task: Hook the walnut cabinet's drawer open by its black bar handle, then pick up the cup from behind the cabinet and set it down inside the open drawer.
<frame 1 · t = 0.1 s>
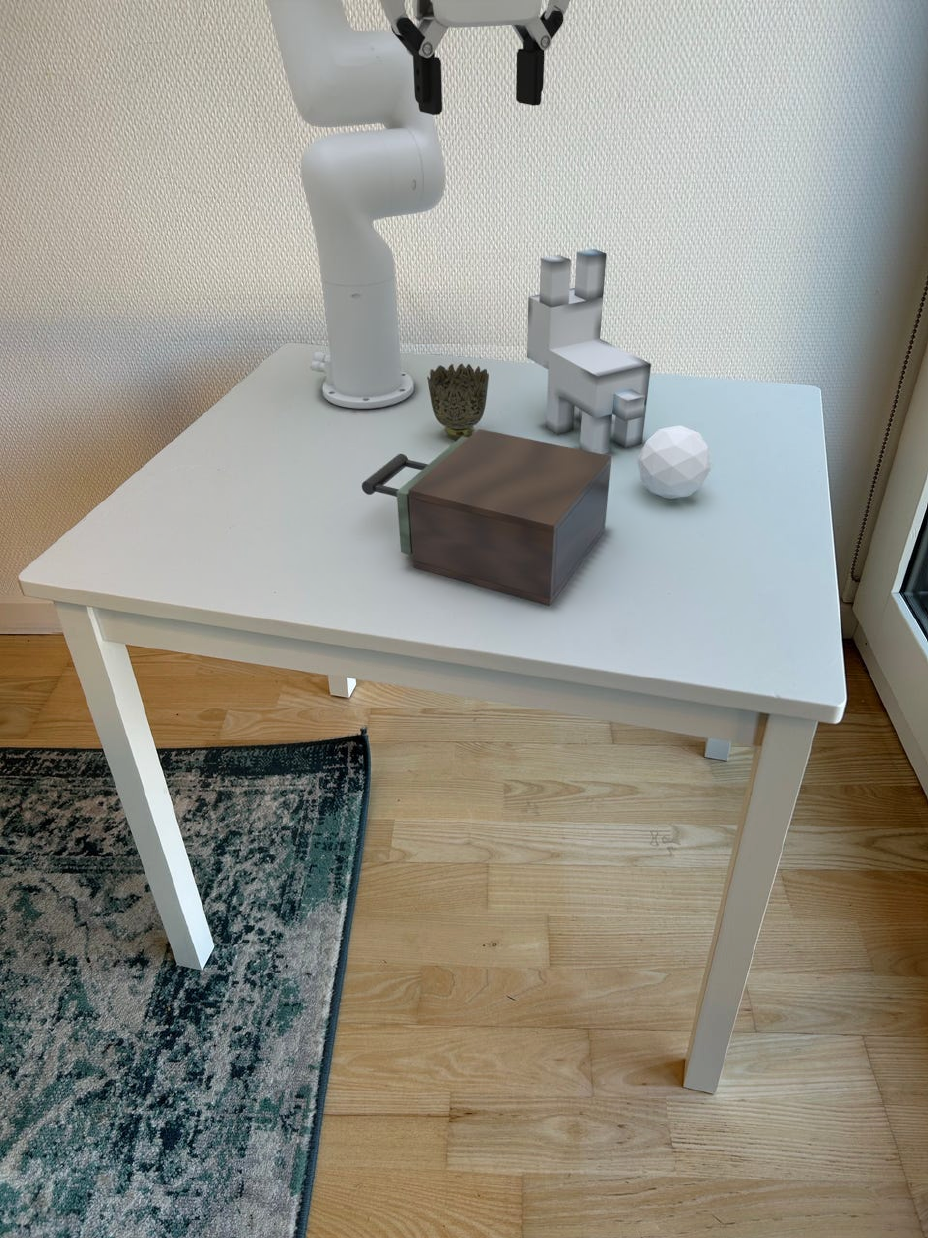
hand: (480, 108, 74), 37 cm above the table, tool pointing down, fingers open, 9 cm apart
cup: (459, 436, 108), on the table
geometric ball: (669, 494, 96), on the table
drawer: (463, 499, 87), point 4 cm above the table, slide at 0.5 cm
cabinet: (511, 548, 87), on the table
toy llama: (587, 432, 109), on the table
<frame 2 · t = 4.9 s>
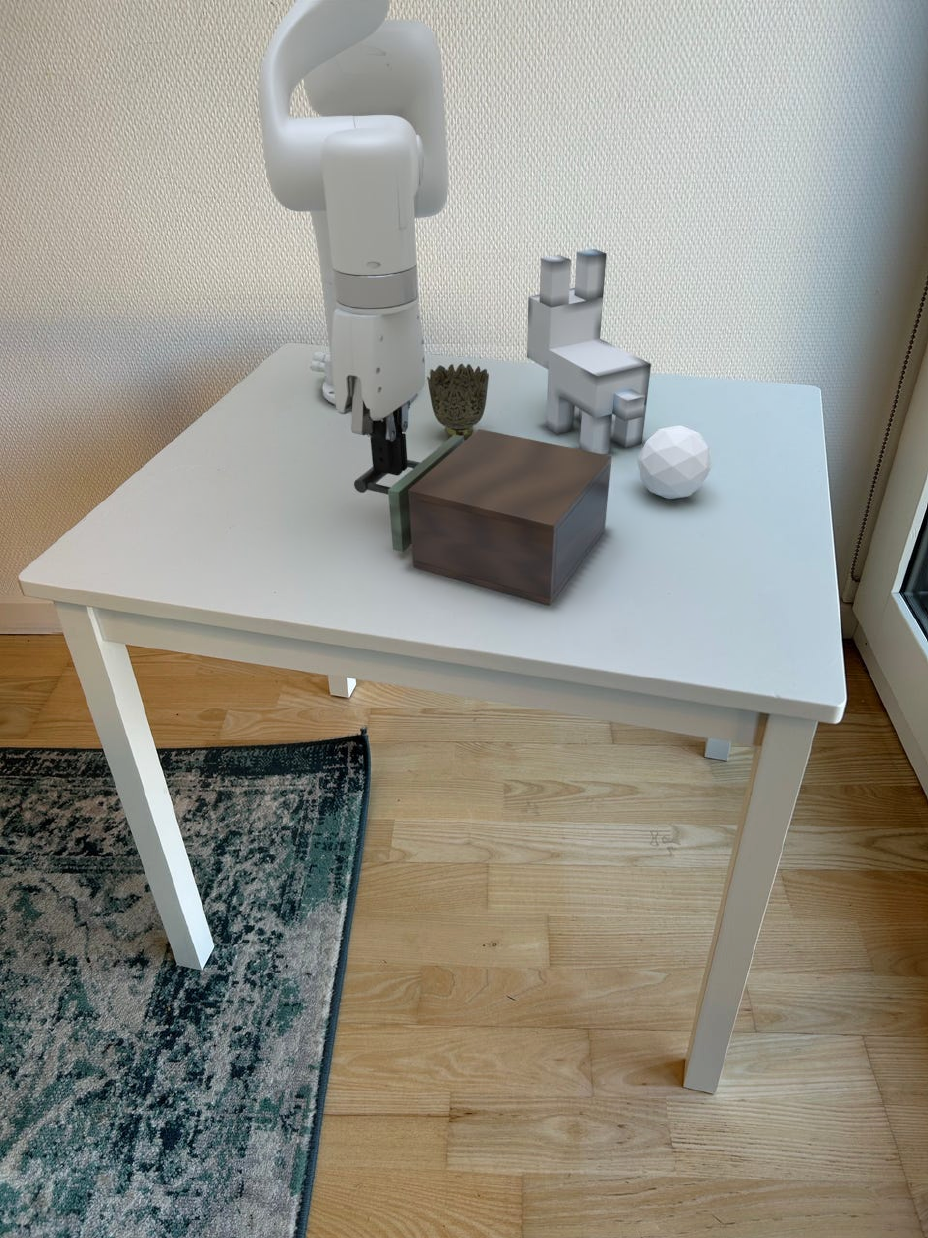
hand: (390, 469, 89), 6 cm above the table, tool pointing down, fingers closed
drawer: (455, 497, 87), point 4 cm above the table, slide at 1.4 cm, touching gripper
everything else where it was.
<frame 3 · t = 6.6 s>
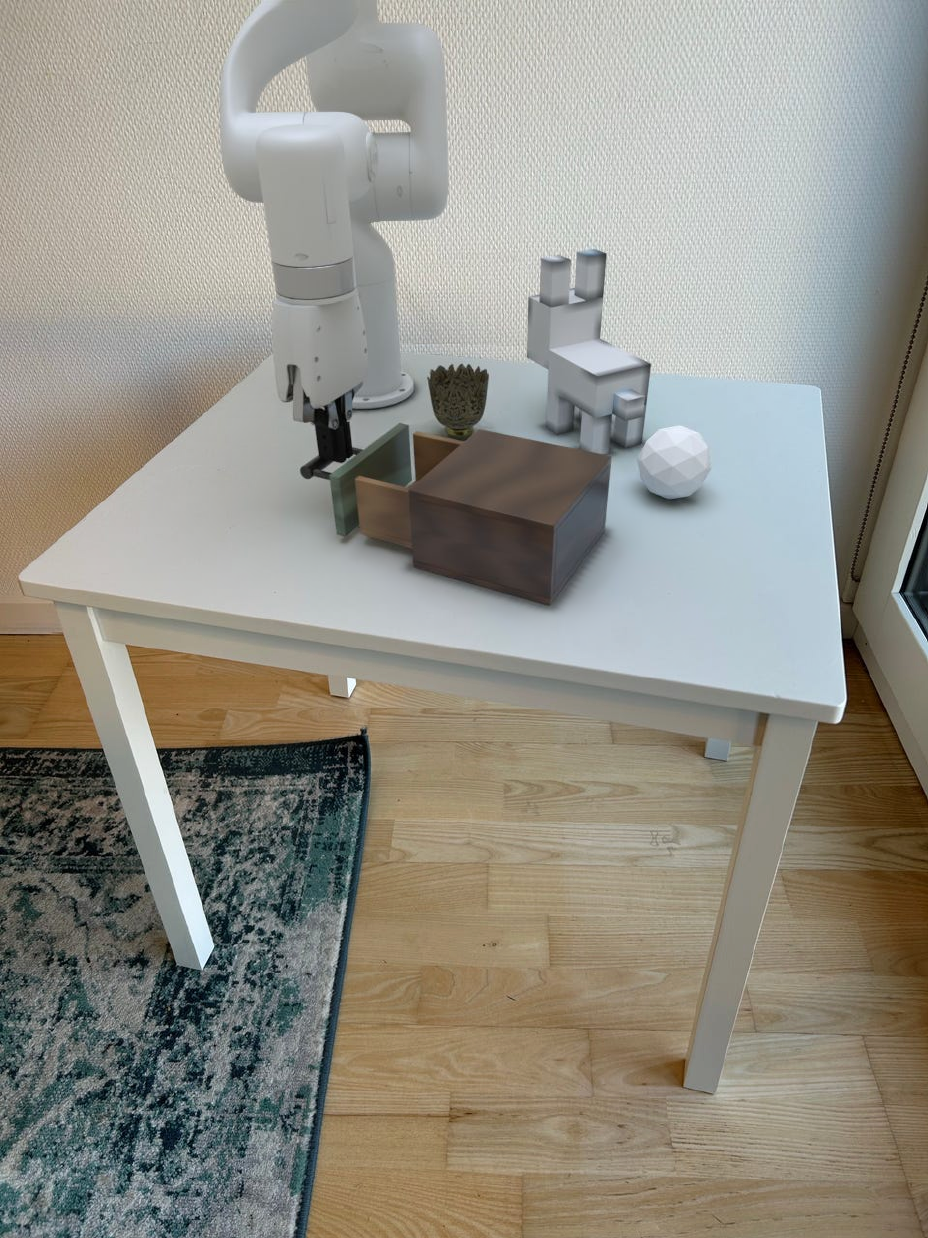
hand: (336, 457, 91), 6 cm above the table, tool pointing down, fingers closed
drawer: (398, 483, 89), point 4 cm above the table, slide at 8.2 cm, touching gripper
everything else where it was.
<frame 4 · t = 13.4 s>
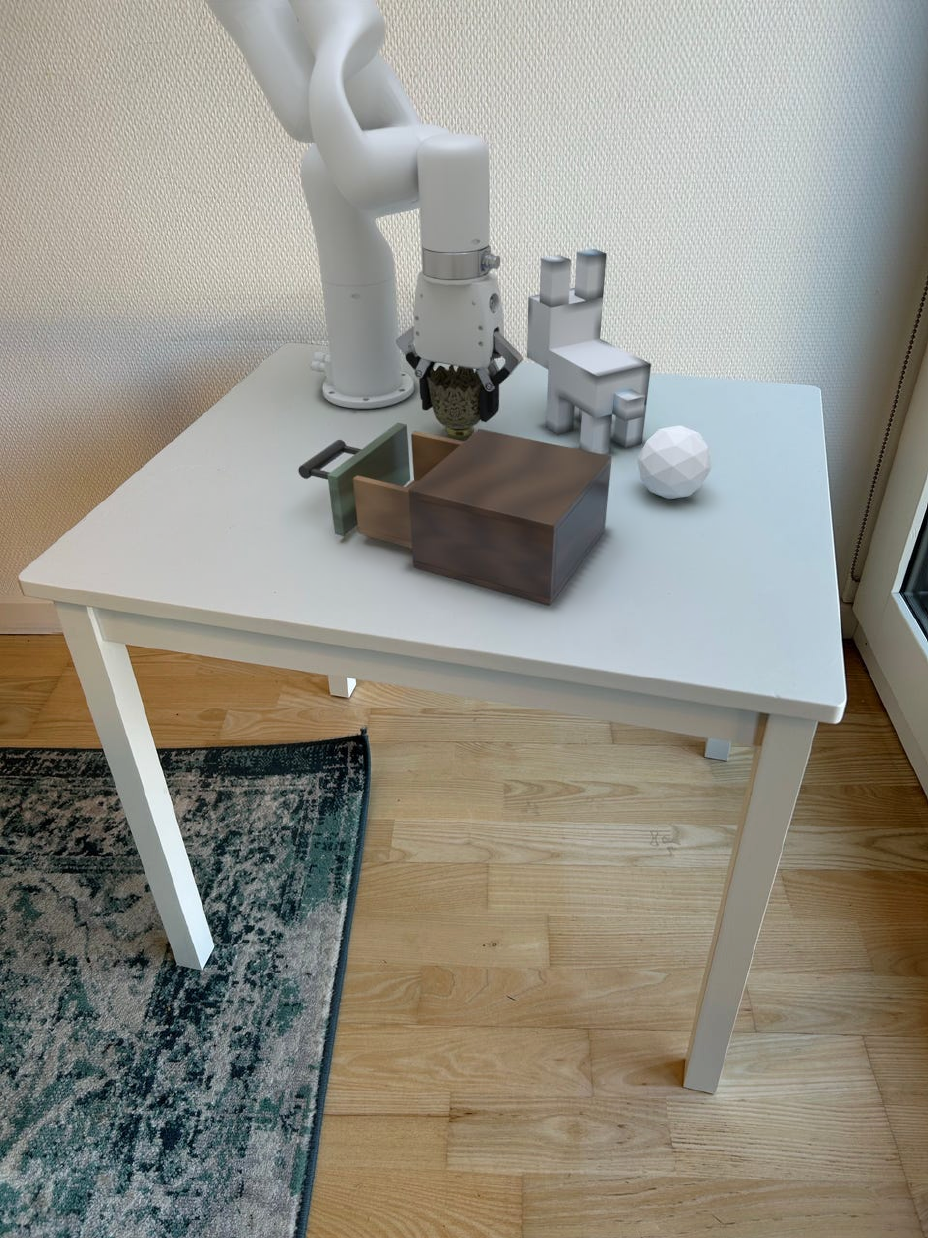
hand: (459, 410, 106), 3 cm above the table, tool pointing down, fingers closed on cup, 7 cm apart
cup: (459, 437, 108), on the table, touching gripper
drawer: (396, 483, 90), point 4 cm above the table, slide at 8.4 cm
everything else where it was.
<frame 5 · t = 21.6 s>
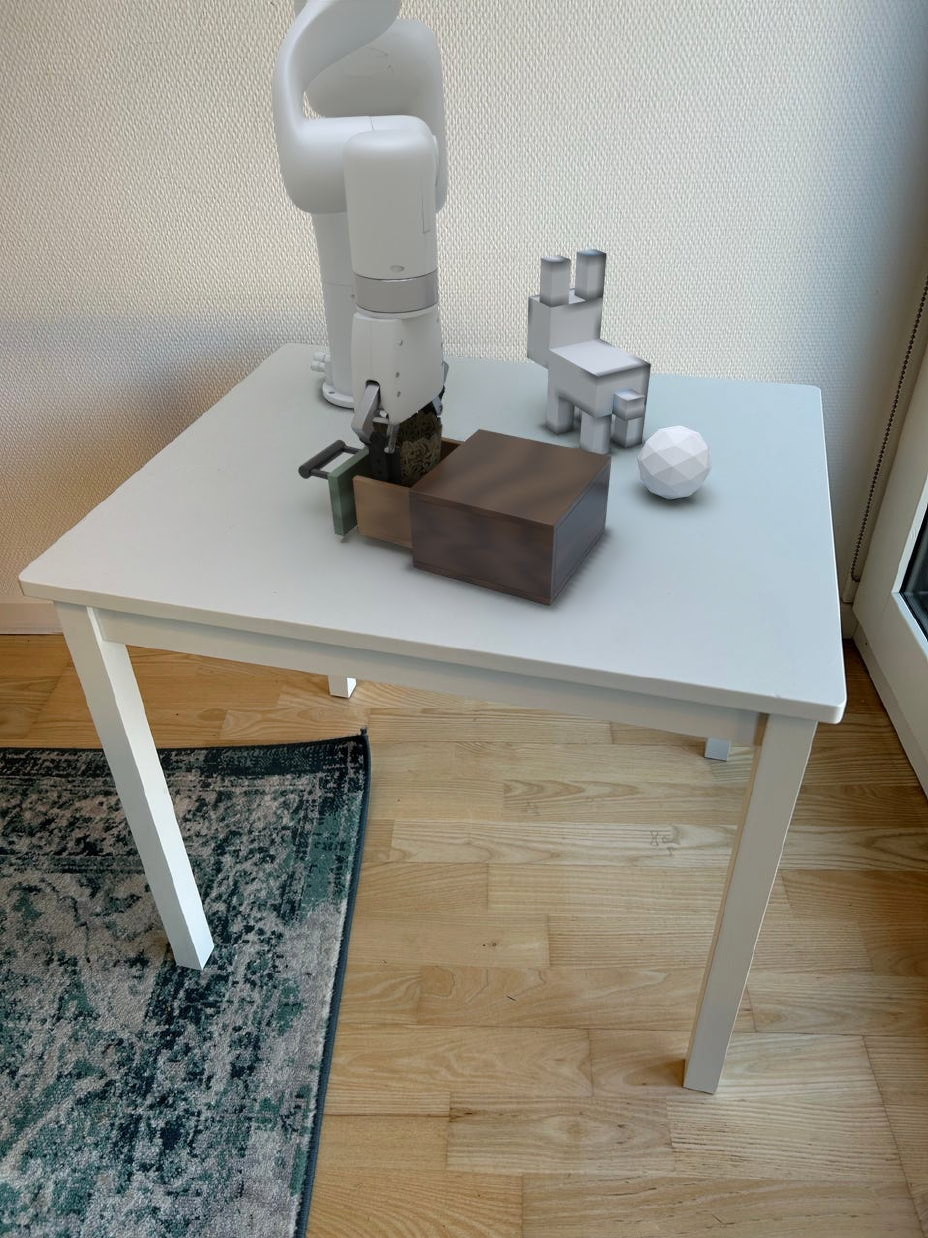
hand: (407, 466, 88), 7 cm above the table, tool pointing down, fingers closed on cup, 7 cm apart
cup: (409, 496, 90), point 3 cm above the table, touching gripper
everything else where it was.
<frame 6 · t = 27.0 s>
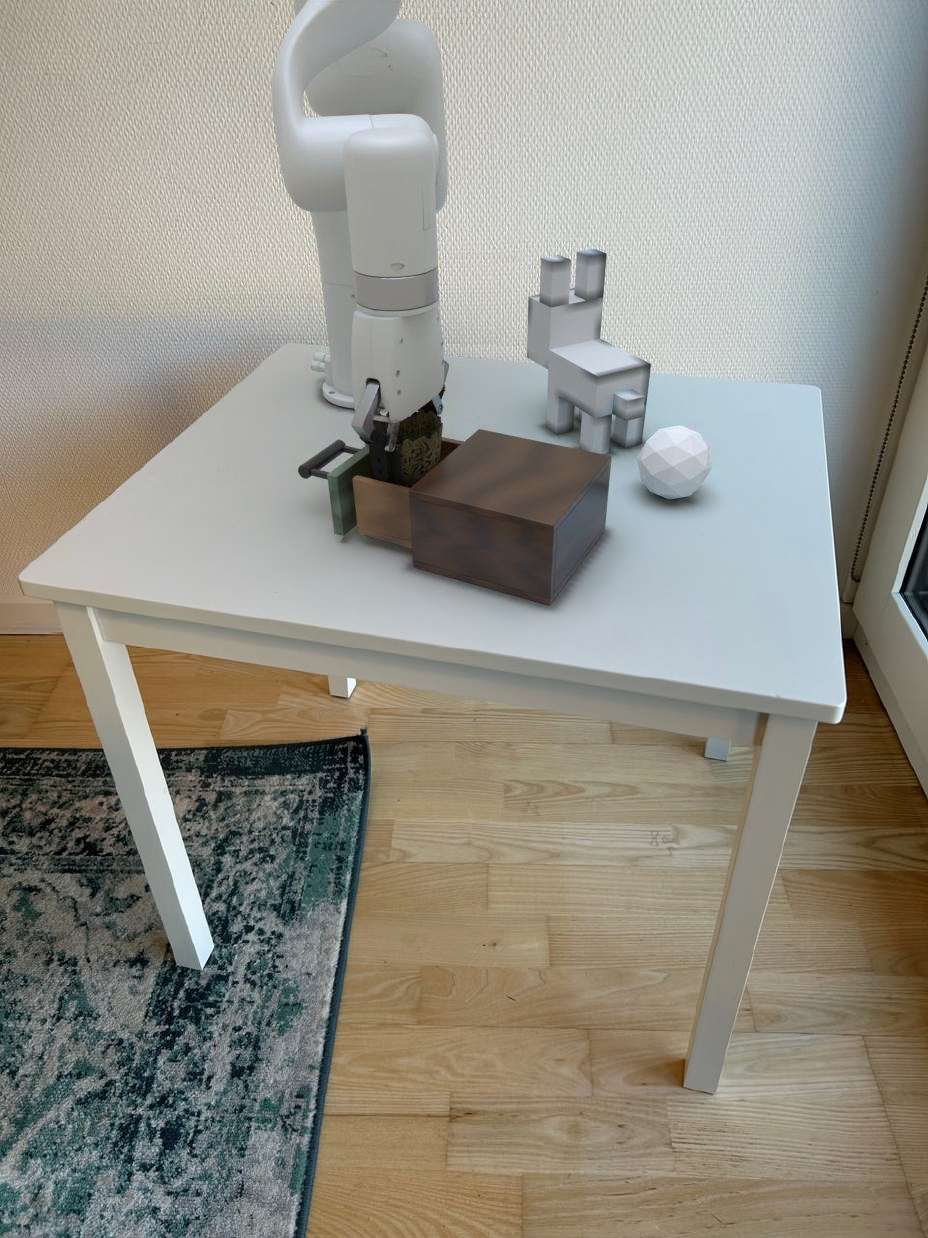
hand: (408, 465, 88), 7 cm above the table, tool pointing down, fingers closed on cup, 7 cm apart
cup: (409, 495, 90), point 3 cm above the table, touching gripper
everything else where it was.
when the fingers open (7 cm above the table, at t = 32.2 s): cup drops 2 cm, resting on drawer.
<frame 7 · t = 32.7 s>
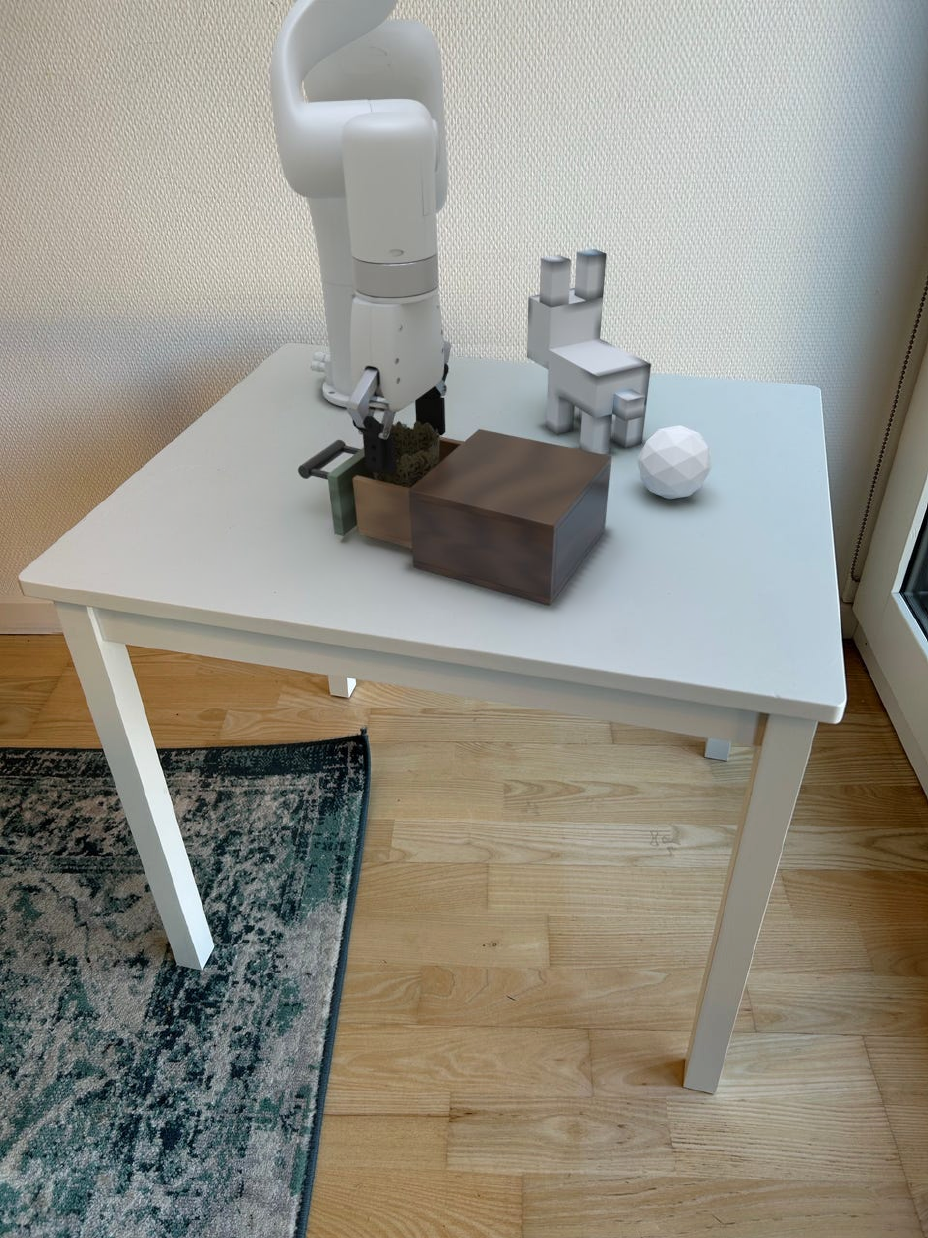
hand: (407, 451, 87), 8 cm above the table, tool pointing down, fingers open, 9 cm apart
cup: (410, 506, 90), point 2 cm above the table, touching drawer
drawer: (396, 483, 90), point 4 cm above the table, slide at 8.4 cm, touching cup
everything else where it was.
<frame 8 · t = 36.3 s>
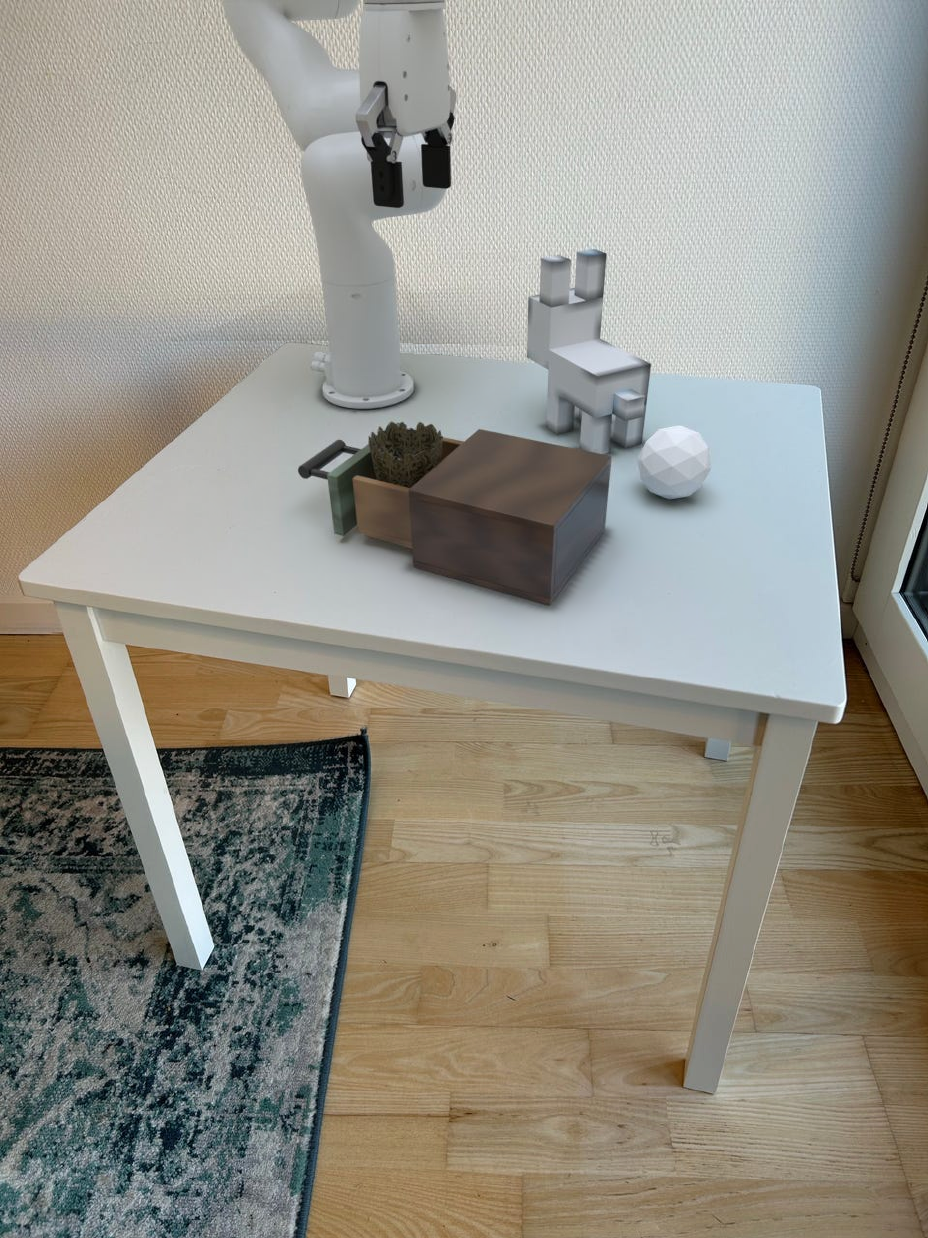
hand: (413, 196, 88), 28 cm above the table, tool pointing down, fingers open, 9 cm apart
nothing on the table moved.
at the end: drawer slide at 8.4 cm; cup inside the target area in the drawer (0.2 cm from its centre), point 1.8 cm above the cabinet's base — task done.
